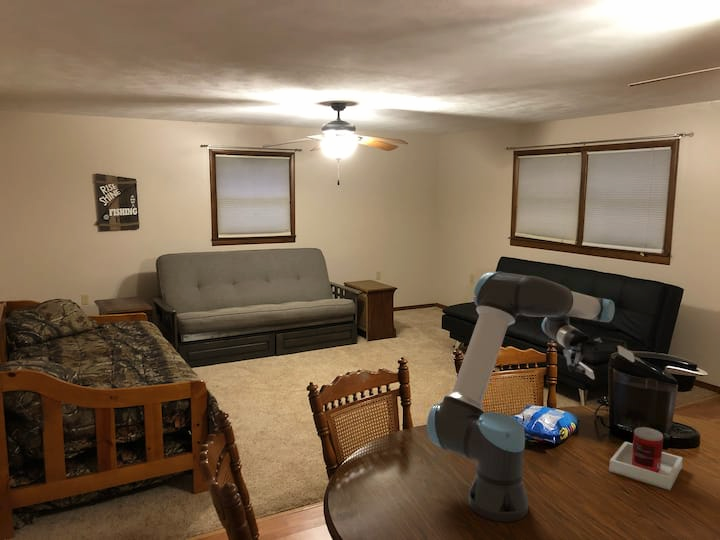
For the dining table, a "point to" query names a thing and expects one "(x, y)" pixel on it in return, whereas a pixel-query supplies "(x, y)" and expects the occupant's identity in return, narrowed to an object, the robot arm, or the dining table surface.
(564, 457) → the dining table surface
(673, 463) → the tray
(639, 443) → the canned food
